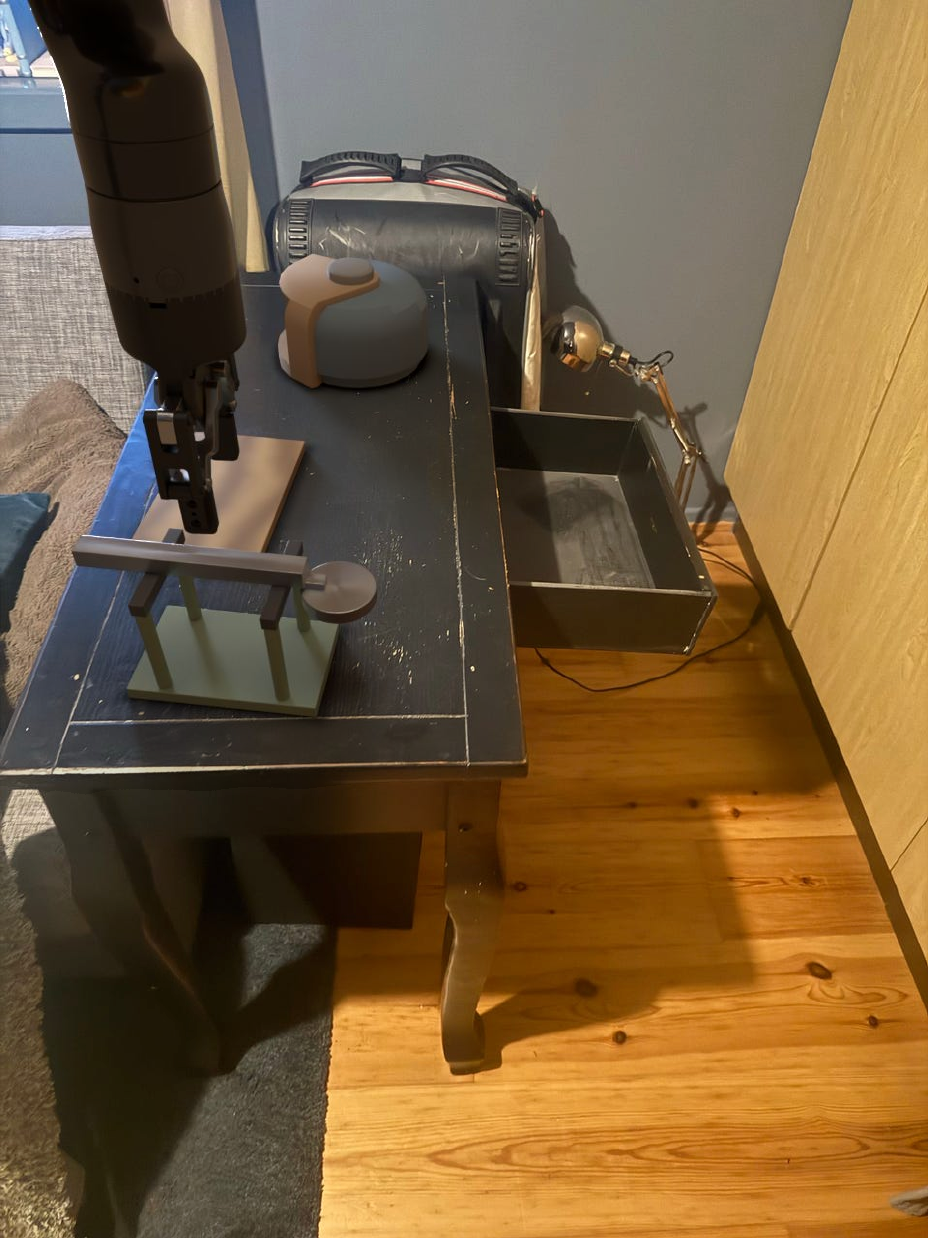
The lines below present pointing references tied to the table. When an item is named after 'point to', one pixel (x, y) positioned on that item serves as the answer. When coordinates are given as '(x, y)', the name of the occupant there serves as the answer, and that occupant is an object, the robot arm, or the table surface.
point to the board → (237, 497)
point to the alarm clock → (351, 322)
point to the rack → (231, 650)
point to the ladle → (242, 572)
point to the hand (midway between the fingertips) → (214, 492)
